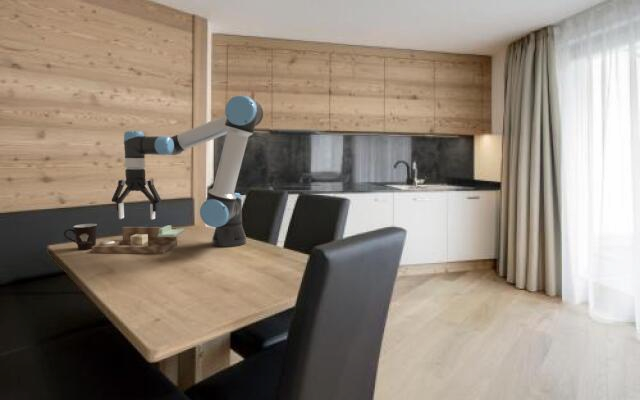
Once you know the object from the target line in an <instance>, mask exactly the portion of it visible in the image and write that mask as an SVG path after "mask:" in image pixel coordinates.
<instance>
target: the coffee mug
mask: <svg viewBox="0 0 640 400" xmlns="http://www.w3.org/2000/svg"><path fill="white" fill-rule="evenodd" d="M97 227H98V224H97V223H83V224H82V223H81V224H76V225H74V226H73V229H70V228H68V229H66V230H64V232H63V235H64V237H65V239H67V240H69V241H71V242H73V243H75V244H77V249H78V250H79V251H88V250H92V246H95V245H97V232H98V231H97ZM69 231H71V232H73V234H74V235H75V240H74V239H72V238H70V237H68V236H67V235H66V234H67V232H69Z"/></svg>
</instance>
